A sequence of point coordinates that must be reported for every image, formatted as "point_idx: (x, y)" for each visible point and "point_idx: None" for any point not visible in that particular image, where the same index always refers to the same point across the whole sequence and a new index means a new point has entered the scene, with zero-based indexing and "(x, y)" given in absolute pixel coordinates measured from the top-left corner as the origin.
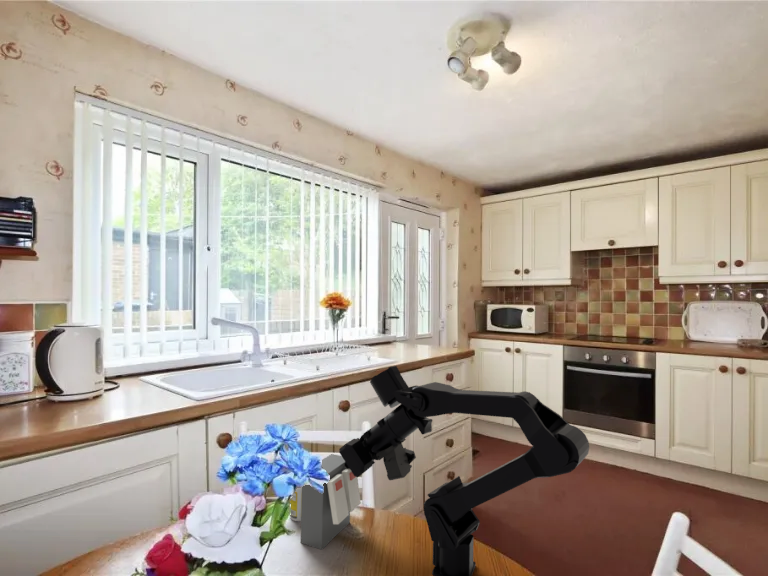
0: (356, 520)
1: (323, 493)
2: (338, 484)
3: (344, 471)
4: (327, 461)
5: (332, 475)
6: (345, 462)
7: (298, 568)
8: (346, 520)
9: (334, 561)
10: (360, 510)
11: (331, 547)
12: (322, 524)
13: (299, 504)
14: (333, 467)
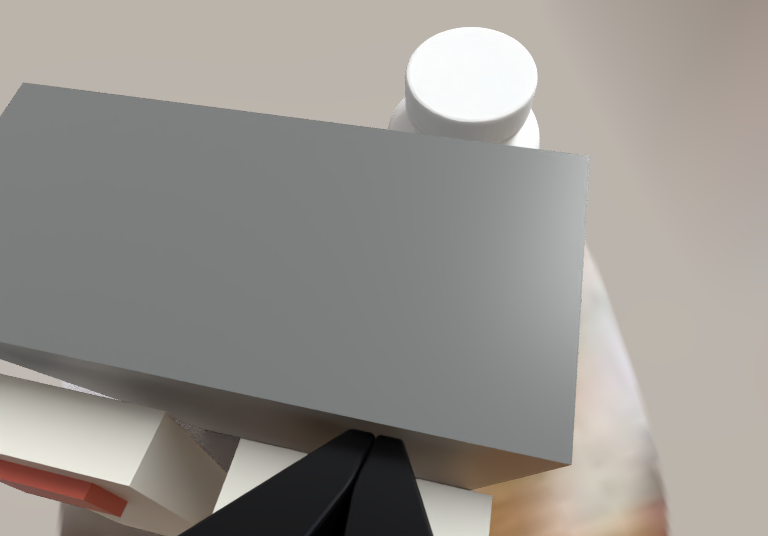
0: (506, 524)
1: (27, 367)
2: (30, 488)
3: (235, 479)
4: (335, 196)
5: (99, 370)
6: (321, 449)
7: (68, 383)
8: (433, 480)
9: (118, 529)
10: (626, 513)
11: (226, 471)
12: None
13: None
14: (157, 331)
